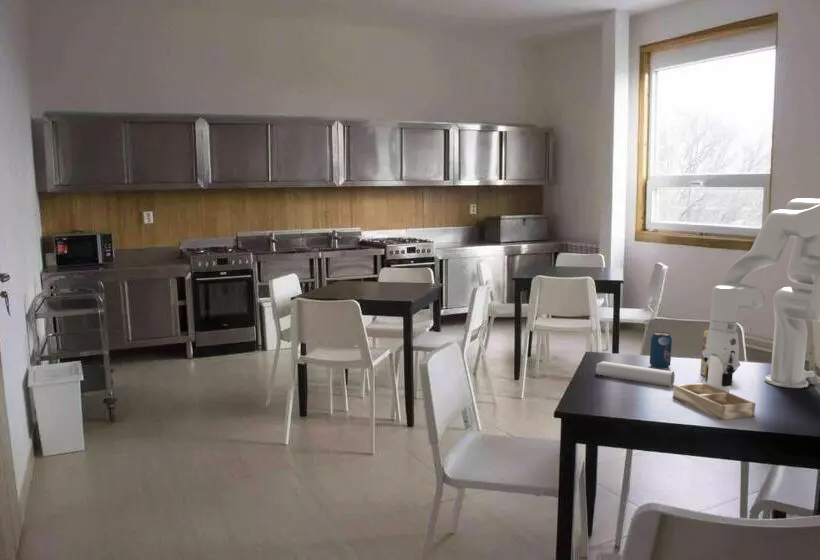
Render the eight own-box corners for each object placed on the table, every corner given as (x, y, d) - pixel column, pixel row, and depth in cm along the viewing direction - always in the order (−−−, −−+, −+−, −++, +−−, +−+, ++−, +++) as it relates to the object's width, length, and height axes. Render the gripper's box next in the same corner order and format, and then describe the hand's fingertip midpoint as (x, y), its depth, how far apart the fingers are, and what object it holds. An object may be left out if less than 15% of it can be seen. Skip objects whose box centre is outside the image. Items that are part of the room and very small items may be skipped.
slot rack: (703, 394, 217) (704, 382, 217) (754, 416, 197) (755, 403, 197) (672, 397, 214) (673, 385, 214) (721, 419, 194) (722, 406, 194)
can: (731, 395, 217) (734, 357, 215) (709, 394, 218) (711, 356, 216) (726, 389, 223) (729, 352, 221) (704, 388, 224) (707, 351, 223)
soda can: (669, 370, 246) (671, 336, 244) (648, 367, 249) (650, 334, 247) (671, 365, 252) (673, 332, 250) (650, 363, 255) (652, 330, 253)
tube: (592, 365, 237) (670, 376, 223) (598, 357, 241) (674, 368, 227) (594, 378, 239) (670, 390, 225) (599, 370, 243) (674, 382, 229)
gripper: (753, 331, 211) (749, 389, 213) (713, 320, 227) (709, 374, 230) (732, 332, 208) (728, 391, 211) (694, 321, 225) (690, 376, 227)
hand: (718, 382), depth 220 cm, fingers closed on can, 6 cm apart
